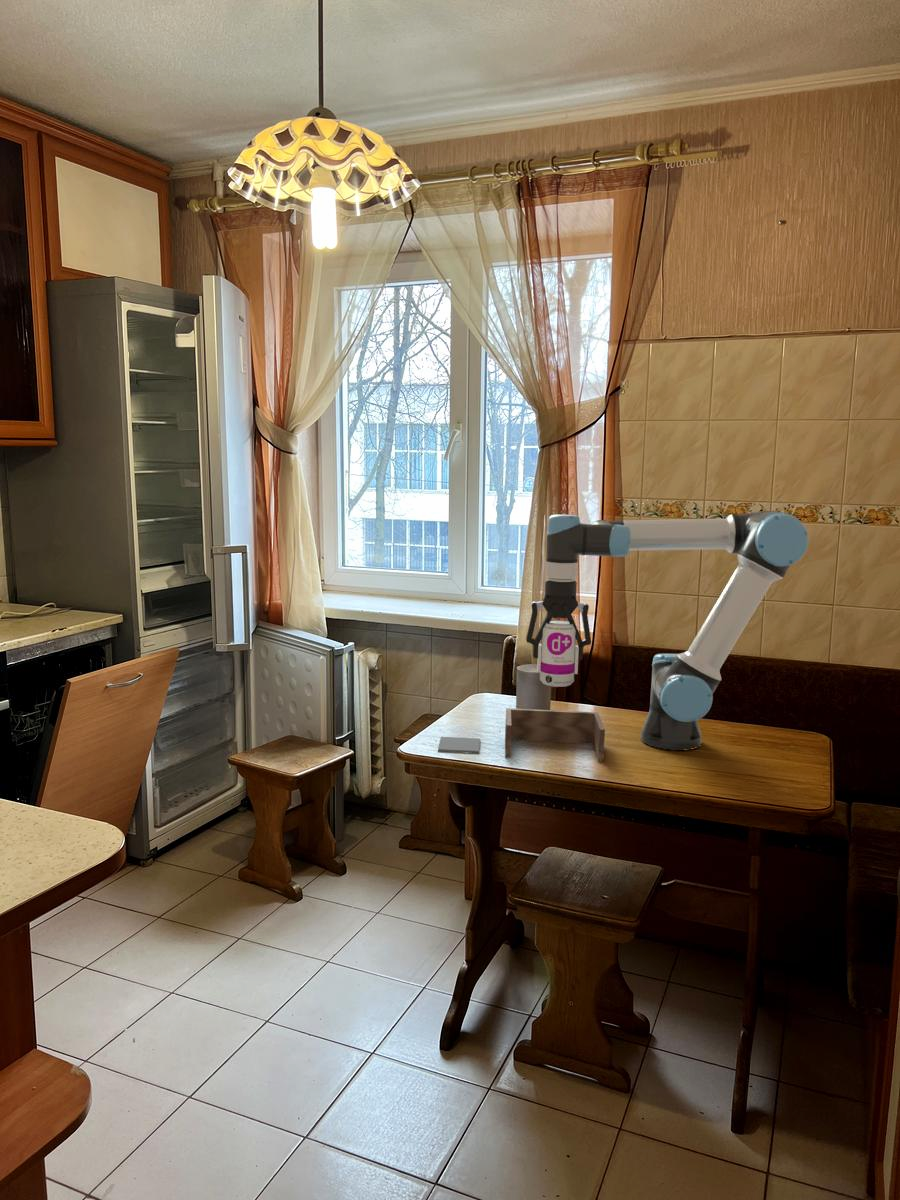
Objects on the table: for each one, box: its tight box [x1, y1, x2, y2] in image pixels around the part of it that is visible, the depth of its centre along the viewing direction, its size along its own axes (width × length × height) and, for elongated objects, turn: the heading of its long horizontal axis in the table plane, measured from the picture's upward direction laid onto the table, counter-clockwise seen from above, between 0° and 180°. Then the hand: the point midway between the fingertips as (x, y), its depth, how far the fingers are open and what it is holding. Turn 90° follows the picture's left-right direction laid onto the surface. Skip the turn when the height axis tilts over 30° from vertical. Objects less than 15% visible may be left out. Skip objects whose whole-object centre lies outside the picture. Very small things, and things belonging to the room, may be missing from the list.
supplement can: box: [540, 619, 577, 688], centre depth 217 cm, size 8×8×15 cm
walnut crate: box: [504, 707, 606, 763], centre depth 221 cm, size 23×15×8 cm, turn 87°
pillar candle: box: [515, 663, 552, 710], centre depth 251 cm, size 10×10×15 cm
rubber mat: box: [437, 736, 481, 754], centre depth 223 cm, size 10×10×1 cm
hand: (557, 671), depth 218 cm, fingers closed on supplement can, 8 cm apart
